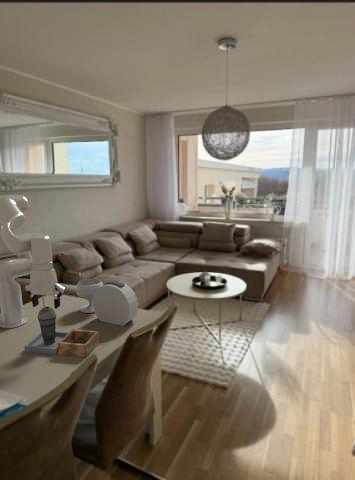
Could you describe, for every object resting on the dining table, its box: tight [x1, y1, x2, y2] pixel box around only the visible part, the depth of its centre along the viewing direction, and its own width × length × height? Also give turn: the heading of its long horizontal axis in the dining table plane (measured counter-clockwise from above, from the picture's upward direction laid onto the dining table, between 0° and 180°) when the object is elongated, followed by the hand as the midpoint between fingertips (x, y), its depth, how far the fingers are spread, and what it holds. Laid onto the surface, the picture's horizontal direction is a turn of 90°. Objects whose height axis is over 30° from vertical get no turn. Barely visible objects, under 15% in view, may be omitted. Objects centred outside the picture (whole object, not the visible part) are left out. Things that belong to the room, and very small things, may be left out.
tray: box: [23, 330, 70, 355], centre depth 140 cm, size 14×14×2 cm
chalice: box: [75, 278, 104, 314], centre depth 175 cm, size 14×14×15 cm
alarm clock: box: [93, 279, 139, 327], centre depth 161 cm, size 21×8×20 cm, turn 65°
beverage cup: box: [37, 296, 57, 345], centre depth 138 cm, size 7×7×20 cm
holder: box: [58, 329, 101, 358], centre depth 136 cm, size 12×12×5 cm
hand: (46, 306), depth 137 cm, fingers open, 9 cm apart
